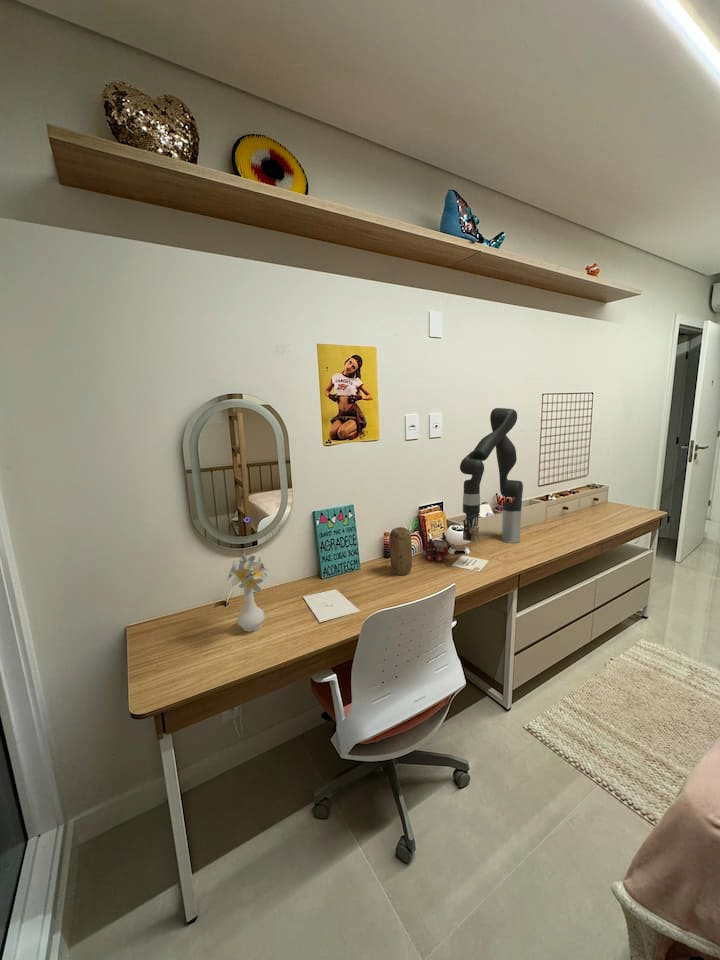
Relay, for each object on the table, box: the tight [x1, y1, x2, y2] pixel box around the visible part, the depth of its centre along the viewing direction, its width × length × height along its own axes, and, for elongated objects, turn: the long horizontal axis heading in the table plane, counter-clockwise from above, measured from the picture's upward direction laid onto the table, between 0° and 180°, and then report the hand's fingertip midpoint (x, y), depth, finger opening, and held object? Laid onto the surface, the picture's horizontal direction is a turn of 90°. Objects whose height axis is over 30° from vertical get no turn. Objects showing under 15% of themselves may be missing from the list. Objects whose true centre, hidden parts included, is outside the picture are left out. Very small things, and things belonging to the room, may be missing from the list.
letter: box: [451, 555, 489, 573], centre depth 174 cm, size 14×13×1 cm
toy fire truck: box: [422, 538, 449, 564], centre depth 180 cm, size 7×12×10 cm, turn 62°
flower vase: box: [226, 553, 269, 633], centre depth 127 cm, size 13×18×25 cm
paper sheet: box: [302, 589, 361, 623], centre depth 145 cm, size 24×29×1 cm
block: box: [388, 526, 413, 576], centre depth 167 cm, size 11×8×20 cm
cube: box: [462, 526, 480, 543], centre depth 171 cm, size 6×6×6 cm
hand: (470, 537), depth 172 cm, fingers closed on cube, 5 cm apart
